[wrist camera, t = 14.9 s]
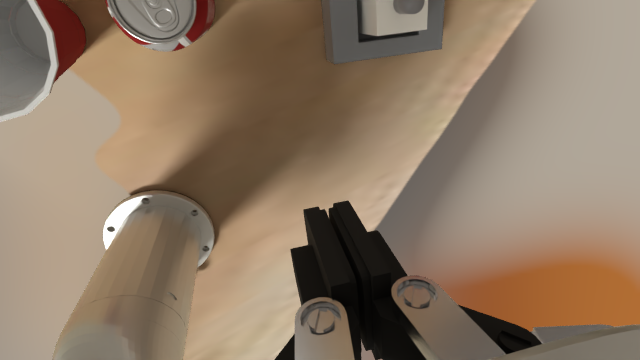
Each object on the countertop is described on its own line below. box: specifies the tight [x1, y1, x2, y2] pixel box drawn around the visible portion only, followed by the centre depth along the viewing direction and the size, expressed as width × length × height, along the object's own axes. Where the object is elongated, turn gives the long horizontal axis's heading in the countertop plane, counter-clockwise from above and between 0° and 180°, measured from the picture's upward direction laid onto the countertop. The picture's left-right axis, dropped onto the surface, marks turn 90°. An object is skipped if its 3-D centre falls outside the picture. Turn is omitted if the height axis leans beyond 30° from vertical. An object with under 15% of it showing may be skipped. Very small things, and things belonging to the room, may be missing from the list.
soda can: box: [105, 0, 215, 51], centre depth 28 cm, size 7×7×12 cm
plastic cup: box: [0, 0, 86, 122], centre depth 26 cm, size 11×11×12 cm
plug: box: [357, 0, 428, 36], centre depth 33 cm, size 5×5×8 cm
